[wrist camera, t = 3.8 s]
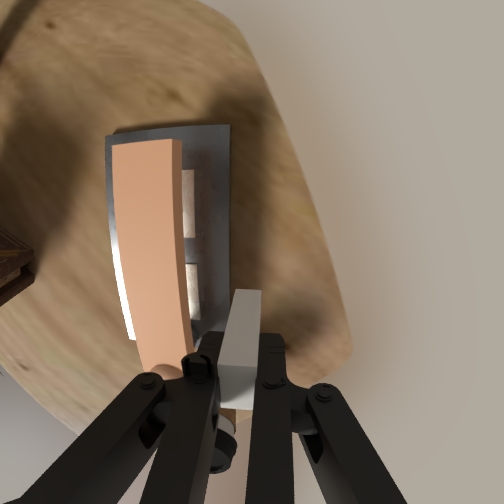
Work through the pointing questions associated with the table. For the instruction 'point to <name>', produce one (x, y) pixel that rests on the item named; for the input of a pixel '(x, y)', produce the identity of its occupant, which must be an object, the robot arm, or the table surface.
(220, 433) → the coffee cup
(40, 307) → the table surface
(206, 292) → the plate
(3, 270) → the book
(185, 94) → the table surface
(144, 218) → the cable arm
